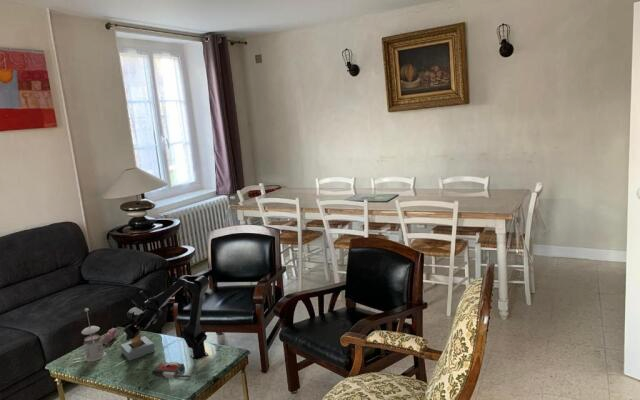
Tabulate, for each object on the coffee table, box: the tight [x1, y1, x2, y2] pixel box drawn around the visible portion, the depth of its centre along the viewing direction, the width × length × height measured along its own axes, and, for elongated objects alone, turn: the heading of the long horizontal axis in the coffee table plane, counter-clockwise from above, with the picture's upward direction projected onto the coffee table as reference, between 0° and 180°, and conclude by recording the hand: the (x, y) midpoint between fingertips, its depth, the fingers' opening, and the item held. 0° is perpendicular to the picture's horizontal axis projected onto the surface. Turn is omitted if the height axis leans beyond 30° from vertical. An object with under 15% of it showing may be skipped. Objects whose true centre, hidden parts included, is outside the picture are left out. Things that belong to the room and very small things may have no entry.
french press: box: [80, 307, 107, 362], centre depth 232 cm, size 10×12×25 cm
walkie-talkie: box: [151, 361, 192, 380], centre depth 211 cm, size 9×4×20 cm
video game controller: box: [101, 327, 118, 345], centre depth 250 cm, size 10×5×7 cm, turn 0°
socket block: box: [120, 335, 155, 361], centre depth 234 cm, size 12×12×4 cm
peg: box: [130, 325, 142, 348], centre depth 233 cm, size 4×4×12 cm
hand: (132, 335), depth 233 cm, fingers open, 9 cm apart
